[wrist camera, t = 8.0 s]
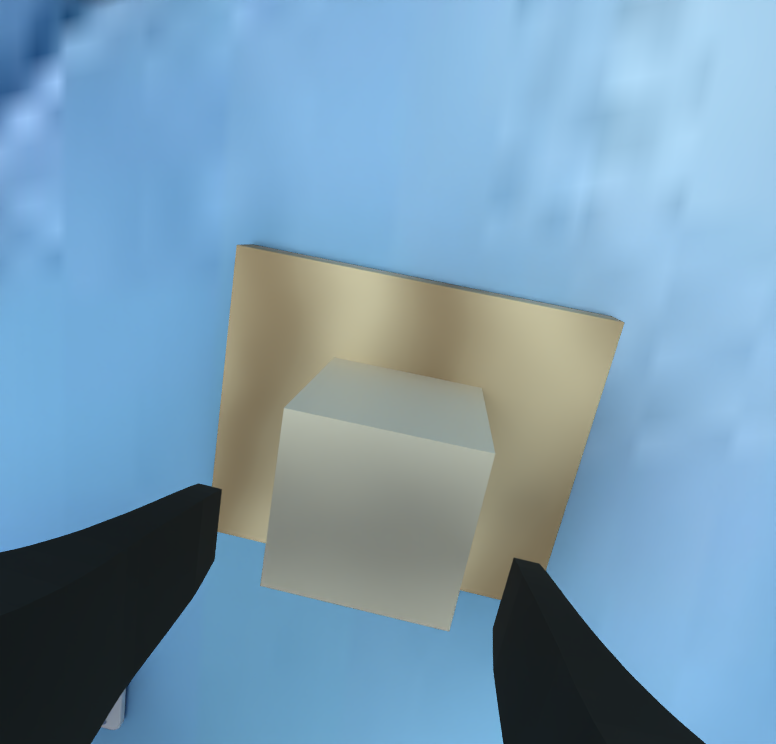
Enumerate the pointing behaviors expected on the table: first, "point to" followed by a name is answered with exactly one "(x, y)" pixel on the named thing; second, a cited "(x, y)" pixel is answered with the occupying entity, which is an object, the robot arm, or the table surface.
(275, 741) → the table surface
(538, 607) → the robot arm
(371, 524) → the pale matte cube
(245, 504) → the plate
